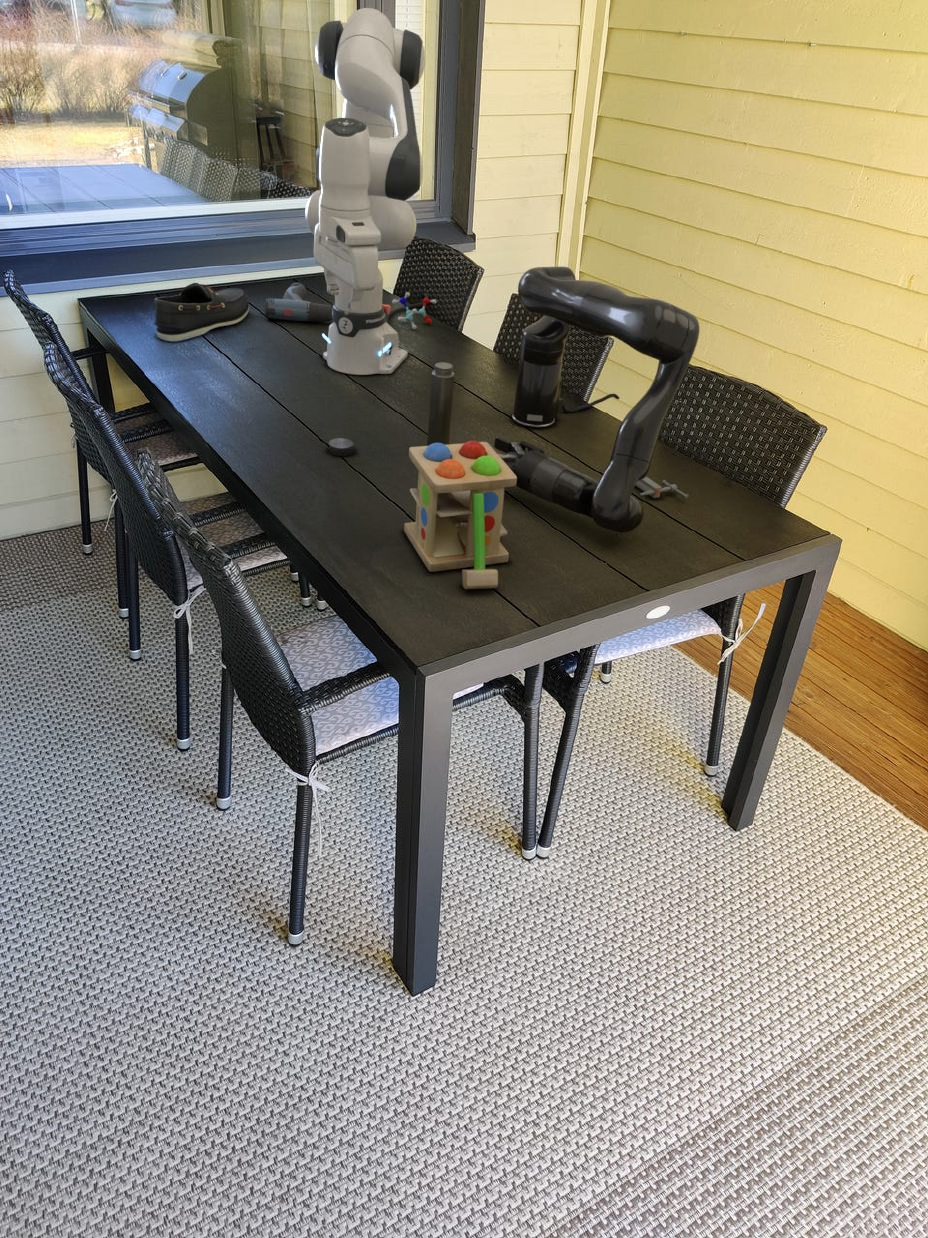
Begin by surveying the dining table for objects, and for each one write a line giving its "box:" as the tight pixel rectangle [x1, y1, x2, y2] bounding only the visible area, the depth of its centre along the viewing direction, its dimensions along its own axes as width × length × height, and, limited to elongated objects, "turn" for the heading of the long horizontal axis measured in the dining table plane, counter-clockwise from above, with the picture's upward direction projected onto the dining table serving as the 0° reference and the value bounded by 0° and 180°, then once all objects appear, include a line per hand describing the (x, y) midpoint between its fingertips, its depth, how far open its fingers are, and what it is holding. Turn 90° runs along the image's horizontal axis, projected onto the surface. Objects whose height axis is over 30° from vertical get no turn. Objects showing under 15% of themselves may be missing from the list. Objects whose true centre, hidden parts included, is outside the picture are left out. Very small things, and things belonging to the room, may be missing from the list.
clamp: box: [635, 476, 689, 500], centre depth 193 cm, size 15×2×10 cm
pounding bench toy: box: [403, 440, 517, 590], centre depth 161 cm, size 23×14×18 cm, turn 20°
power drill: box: [264, 282, 333, 322], centre depth 265 cm, size 5×19×20 cm
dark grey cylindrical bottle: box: [426, 361, 455, 446], centre depth 194 cm, size 4×4×19 cm
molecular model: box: [391, 291, 437, 331], centre depth 264 cm, size 12×10×10 cm
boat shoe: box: [153, 282, 250, 342], centre depth 250 cm, size 13×33×10 cm, turn 147°
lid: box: [328, 437, 354, 457], centre depth 196 cm, size 5×5×2 cm
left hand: (343, 301), depth 180 cm, fingers open, 8 cm apart
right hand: (481, 447), depth 190 cm, fingers open, 8 cm apart
